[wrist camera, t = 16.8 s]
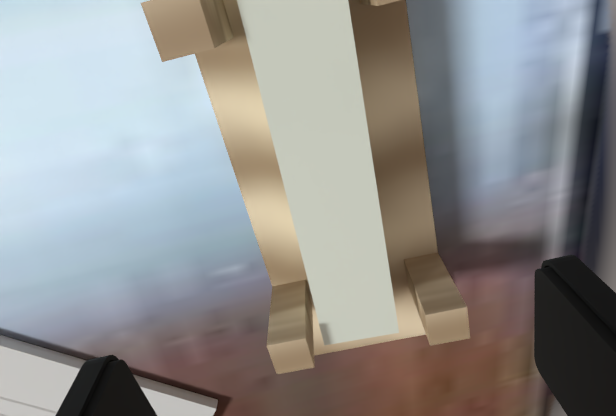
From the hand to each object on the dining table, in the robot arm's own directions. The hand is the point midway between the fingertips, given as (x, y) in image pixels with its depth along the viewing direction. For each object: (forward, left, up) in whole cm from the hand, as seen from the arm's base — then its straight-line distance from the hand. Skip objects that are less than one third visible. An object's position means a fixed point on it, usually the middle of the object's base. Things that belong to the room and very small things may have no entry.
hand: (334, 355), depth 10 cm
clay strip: (-1, +1, -14) cm, 14 cm away
